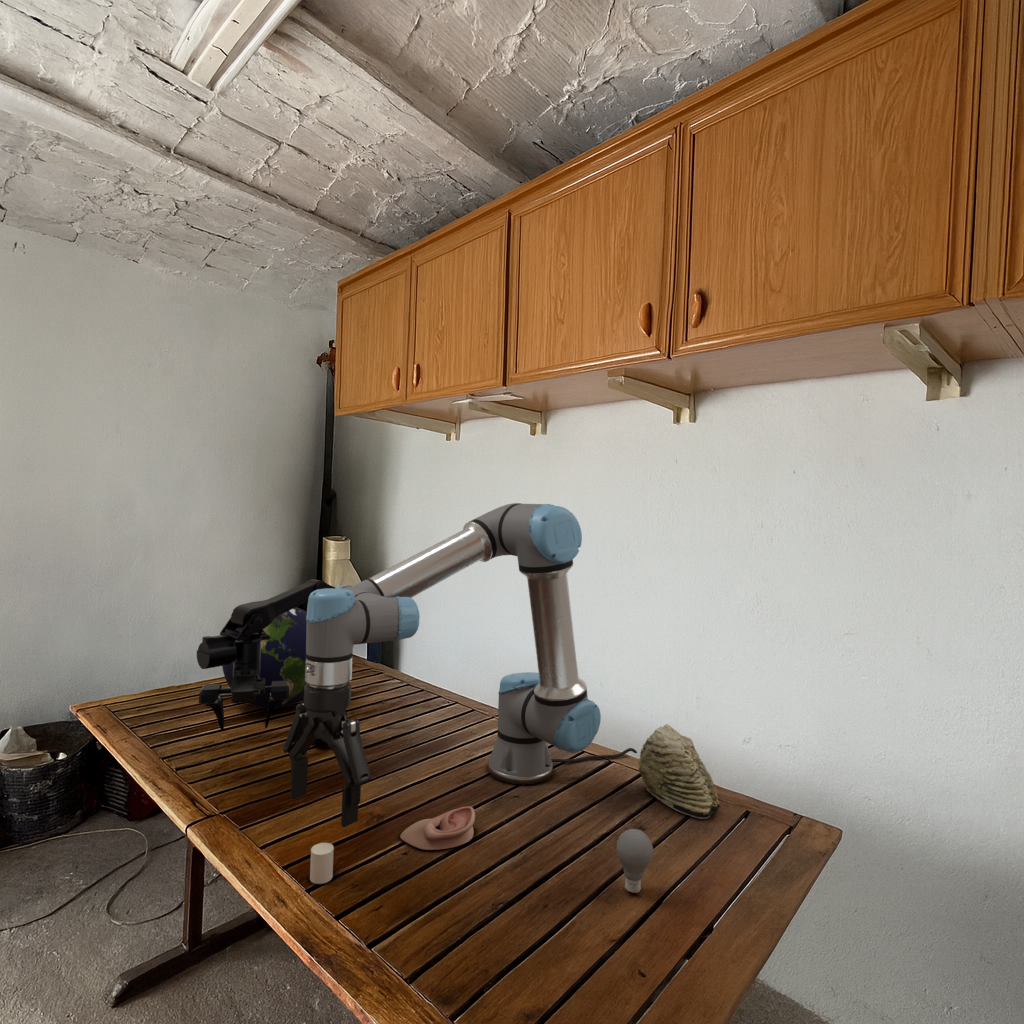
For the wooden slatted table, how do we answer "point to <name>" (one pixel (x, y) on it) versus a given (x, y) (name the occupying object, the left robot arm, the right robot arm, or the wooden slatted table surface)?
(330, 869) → the cylinder
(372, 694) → the wooden slatted table surface
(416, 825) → the anatomical model
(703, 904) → the wooden slatted table surface
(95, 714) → the wooden slatted table surface
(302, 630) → the globe
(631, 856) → the light bulb
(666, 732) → the fossil
